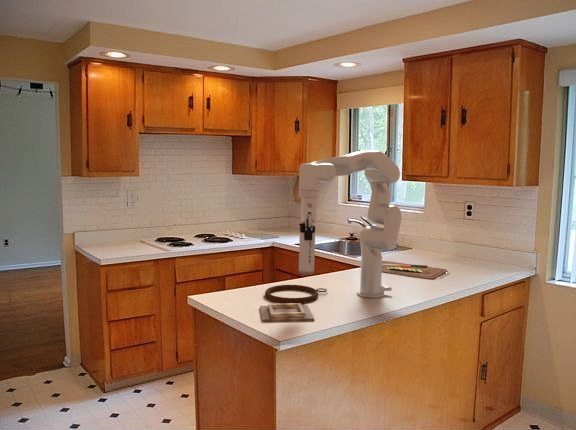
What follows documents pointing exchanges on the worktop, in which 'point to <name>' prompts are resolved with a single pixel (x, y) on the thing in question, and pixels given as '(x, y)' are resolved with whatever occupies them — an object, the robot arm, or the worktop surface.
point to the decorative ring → (293, 300)
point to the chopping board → (413, 270)
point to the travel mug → (306, 252)
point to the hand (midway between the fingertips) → (306, 238)
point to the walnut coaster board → (286, 312)
